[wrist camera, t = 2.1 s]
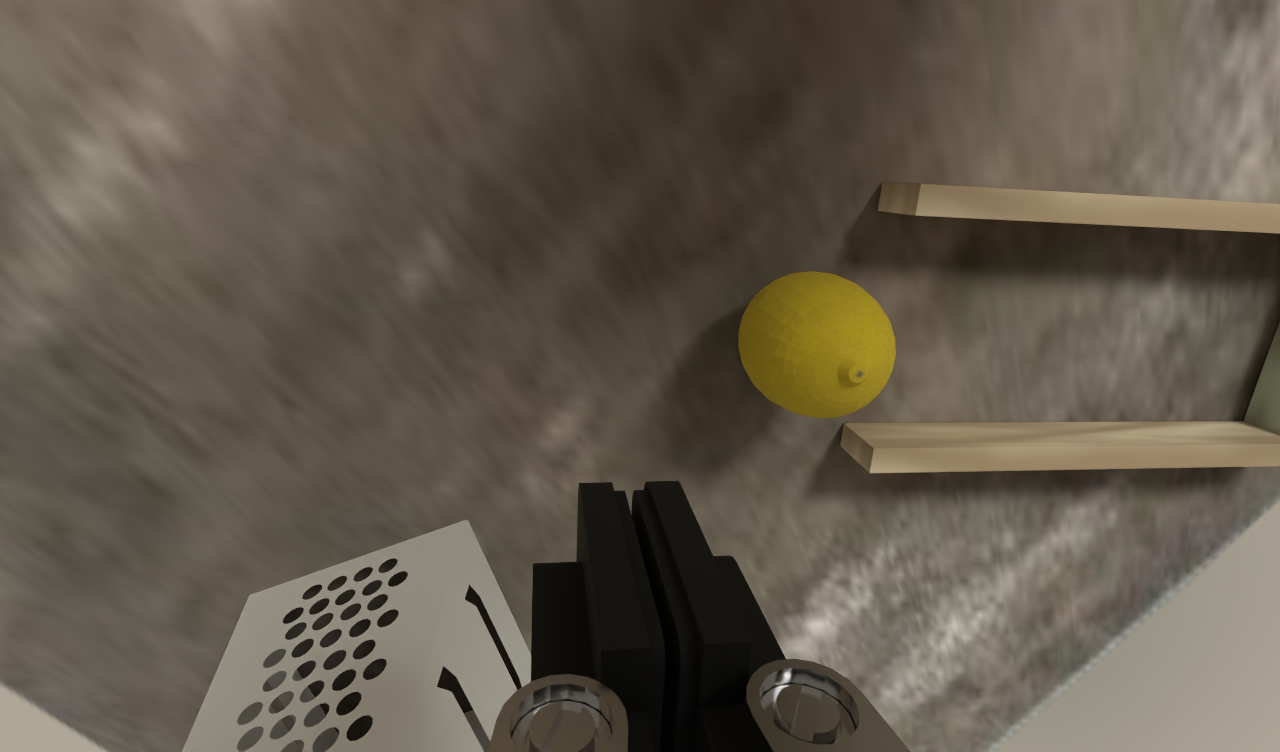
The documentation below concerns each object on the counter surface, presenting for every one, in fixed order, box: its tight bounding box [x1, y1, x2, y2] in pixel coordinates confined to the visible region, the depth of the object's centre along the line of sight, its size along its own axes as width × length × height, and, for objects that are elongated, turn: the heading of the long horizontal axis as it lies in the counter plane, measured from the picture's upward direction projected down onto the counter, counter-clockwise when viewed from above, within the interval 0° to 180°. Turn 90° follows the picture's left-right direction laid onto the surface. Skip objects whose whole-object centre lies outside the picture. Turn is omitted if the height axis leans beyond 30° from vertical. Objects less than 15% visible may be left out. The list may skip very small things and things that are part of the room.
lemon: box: [738, 271, 896, 418], centre depth 25 cm, size 6×6×8 cm
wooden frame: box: [840, 182, 1280, 473], centre depth 30 cm, size 12×25×3 cm, turn 87°
